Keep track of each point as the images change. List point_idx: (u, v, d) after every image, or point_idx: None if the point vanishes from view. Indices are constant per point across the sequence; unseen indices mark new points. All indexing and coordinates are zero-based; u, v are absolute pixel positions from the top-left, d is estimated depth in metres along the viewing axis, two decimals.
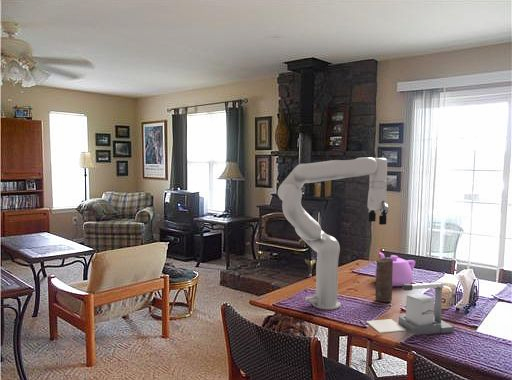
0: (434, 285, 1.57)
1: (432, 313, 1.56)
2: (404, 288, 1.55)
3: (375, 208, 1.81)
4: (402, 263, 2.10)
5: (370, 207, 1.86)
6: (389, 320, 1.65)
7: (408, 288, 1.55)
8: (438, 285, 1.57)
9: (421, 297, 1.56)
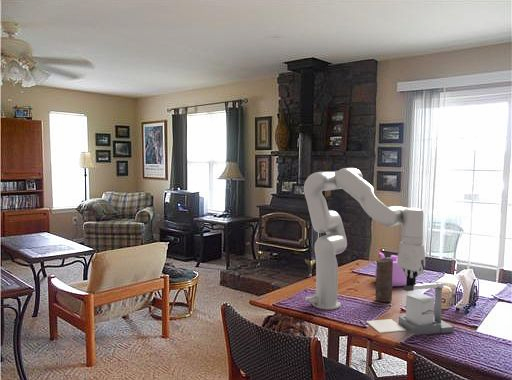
0: (434, 285, 1.57)
1: (432, 313, 1.56)
2: (405, 289, 1.54)
3: (413, 268, 1.54)
4: None
5: (403, 266, 1.58)
6: (389, 320, 1.65)
7: (409, 289, 1.54)
8: (438, 285, 1.57)
9: (421, 297, 1.56)
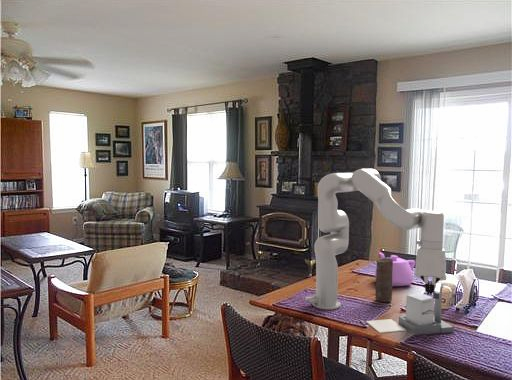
0: (440, 286, 1.56)
1: (432, 313, 1.56)
2: (437, 297, 1.45)
3: (439, 275, 1.46)
4: (402, 263, 2.10)
5: (425, 273, 1.48)
6: (389, 320, 1.65)
7: (439, 296, 1.46)
8: (442, 285, 1.57)
9: (421, 297, 1.56)
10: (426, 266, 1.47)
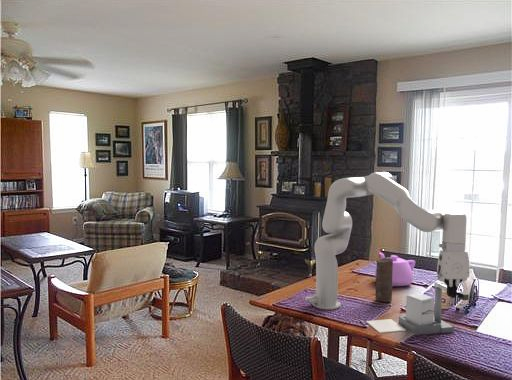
0: None
1: (432, 313, 1.56)
2: (467, 298, 1.44)
3: (465, 276, 1.45)
4: (402, 263, 2.10)
5: (453, 276, 1.44)
6: (389, 320, 1.65)
7: None
8: None
9: (421, 297, 1.56)
10: (454, 269, 1.44)
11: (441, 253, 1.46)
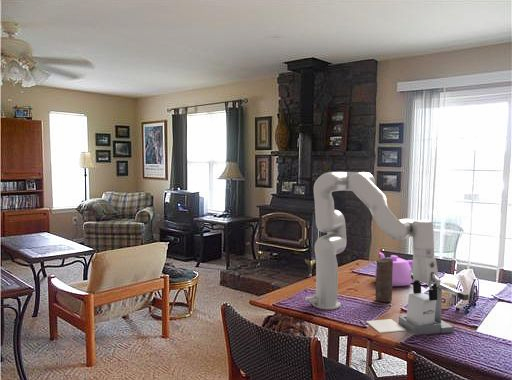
0: None
1: (433, 313, 1.55)
2: (467, 298, 1.44)
3: None
4: (402, 263, 2.10)
5: None
6: (389, 320, 1.65)
7: None
8: None
9: (424, 297, 1.55)
10: None
11: (431, 260, 1.52)
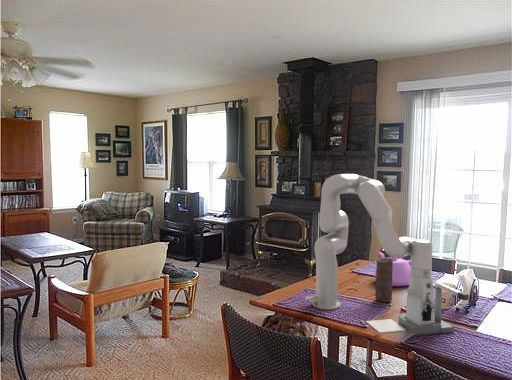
0: None
1: (432, 313, 1.55)
2: (467, 298, 1.44)
3: None
4: (402, 263, 2.10)
5: None
6: (389, 320, 1.65)
7: None
8: None
9: None
10: None
11: (428, 281, 1.52)
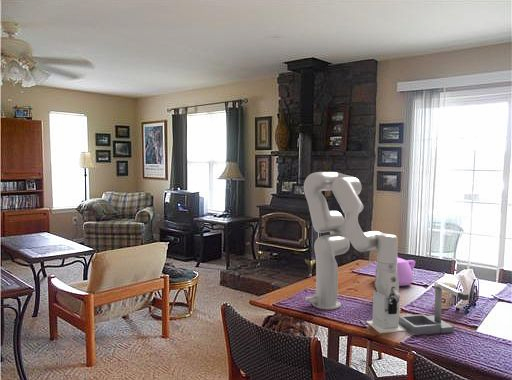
0: None
1: (397, 311, 1.57)
2: (467, 298, 1.44)
3: None
4: (402, 263, 2.10)
5: None
6: None
7: None
8: None
9: None
10: None
11: (393, 275, 1.54)
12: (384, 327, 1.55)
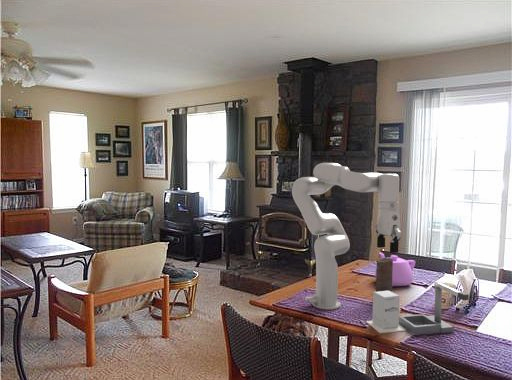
0: None
1: (397, 311, 1.57)
2: (467, 298, 1.44)
3: None
4: (402, 263, 2.10)
5: None
6: None
7: None
8: None
9: (386, 294, 1.57)
10: None
11: (394, 213, 1.52)
12: (384, 327, 1.55)
